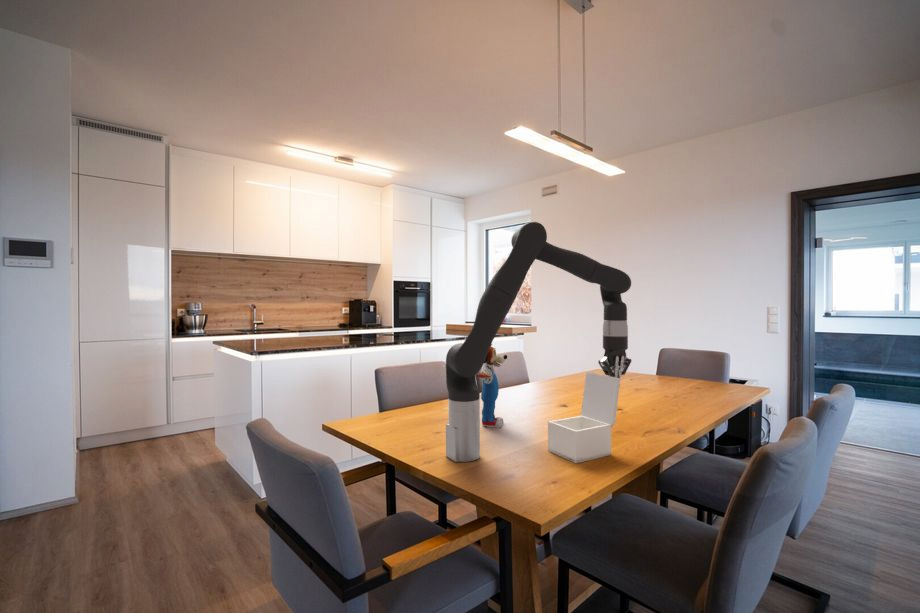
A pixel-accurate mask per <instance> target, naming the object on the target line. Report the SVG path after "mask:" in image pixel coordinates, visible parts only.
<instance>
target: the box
mask: <svg viewBox="0 0 920 613" xmlns="http://www.w3.org/2000/svg"><path fill="white" fill-rule="evenodd" d="M547 451H548V452H550V453H553V454H554V455H557V456H559V457H561V458H563V459H566V460H568V461H569V462H572V463H574V464H579V463H583V462H586V461H587V462H588V461H592V460H596V459H600V458H605V457H607V456H608V457H609V456H611V455H612V425H610V424H607V423H604V422H601V421H598V420H594V419H591V418H588V417H585V416H582V415H578V416H572V417H567V418H560V419H554V420H549V421H547Z"/></svg>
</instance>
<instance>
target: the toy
mask: <svg viewBox="0 0 920 613" xmlns="http://www.w3.org/2000/svg"><path fill="white" fill-rule="evenodd" d="M507 359H508V355H507V354H504V355H501V354H500V355H497V351H496V347H493V344H491V346H490V349H489V351H488V353H487V356H486V359H485V361H484V364H483V366H482V368H481V370H480V371H479V372H478V373H477V374H476V378H477V377H478V378H482V390H481V392H480V394H481V395H480V400H481V402H482V403H483V404H482V409H481V416H482V417H481V425H482V427H484V426H487V427H486V428H495V427H500V428H502V427H503V425H504V424H503V423H504V418H502V417H500V416H498V417H496V415H495V409H496V401H497V399H498V396H499V392H500V391H499V390H500V388H499V382H498V381H499V380H498V377H497V375H496V372H495V369H494V368H495V367H497V368H499V367H501V364H504V363H505V360H507Z"/></svg>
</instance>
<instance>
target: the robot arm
mask: <svg viewBox="0 0 920 613" xmlns="http://www.w3.org/2000/svg"><path fill="white" fill-rule="evenodd" d="M547 240H548V233H547V230H546V228H545V226H544V225H543V224H542V223H540V222H538V221H529V222H526V223H524V224H523V225H521V226H520V227H519V228H518V229H516V231H515V232H514V233H513V234H512V236H511V241H510V242H511V246H512V249H511V251H510V252H509V255H508V256H507V258H506V259H505V261H504V263H503V264H502V265H501V266H500V267H499V268H498V269H497V271H496V273H495V274H494V275H493V277H492V278H491V280H490V281H489V283H488V285H486V288H485V289H484V292H483V294H482V295H481V298H480V299H479V302H478V305H477V310H476V314H475V320H474V322H473V325H472V328H471V330H470V331H469V333H468V335H467V337H465V338H466V339H465V340H464V342H463V343H455V344H454V345H452V346H450V348H449V350H448V351H447V353H446V356H445V357H446V358H445V378H446V379H445V380H446V382H445V383H446V389H447V393H448V397H447V398H448V423H446V424H445V456H446V457H448V458H449V459H450V460H451V461H453V462H455V463H459V462H461V463H465V462H473V461H476V460H478V459H479V458H480V457H481V455H480V454H481V447H480V446H481V445H480V444H481V442H480V441H481V440H480V439H481V435H480V434H481V426H480V424H481V422H480V421H481V418H480V417H481V416H480V415H481V412H480V411H481V409H480V408H481V407H480V404H481V403H480V402H481V401H480V400H481V395H480V394H481V392H480V388H479V386H478V384H477V380H476V378H477V377H476V376H477V374H479V373H480V372H481V370H482V369H483V368H482V367H483V365H484V364H485V363H484V361H485V359H486V356H487V353H488V351H489V349H490V346H491V347H492V345H491V344H492V343H493V341H494V339H495V337H496V335H497V333H498V331H499V330H500V328H501V327H502V324H503V323H504V320H505V318H506V316H507V315H508V314H509V312H510V310H511V308H512V306H513V304H514V302H515V300H516V298H517V297H518V294H519V292H520V289H521V288H522V285H523V284H524V281H525V279H526V276H527V275H528V272H529V270H530V268H532V267H531V266H532V265H533V263H534V262H535V260H538V261H540V262H543V263H545V264H549V265H551V266H553V267H555V268H559V269H561V270H563V271H565V272H567V273H569V274H571V275H573V276H575V277H576V278H579V279H581V280H583V281H585V282H588V283H590V284H596V285H599V291H600V296H601V302H602V304H603V324H602V348H603V350H604V354H603V358H602V359H599V360H598V364H599V366H600V368H601V369H602V371H603V373H604V375H605V376H610V377H616V378H621V377H622V376H624V375H626V373H627V371H628V369H629V367H630V366H631V363H632V362H633V361H632V359H631V358H628V356H627V352H626V351H627V350H629V349H628V348H629V331H628V330H629V328H628V327H629V326H628V308H627V306H628V305H627V304H626V303H625V302H624V301H623V300H622V294H624V293H626V292H628V291H629V290H630V288H631V287H632V280H631V277H630V276H629V275H628V274H627V273H626V272H624V271H623V270H620V269H618V268H615V267H613V266H610V265H607V264H603V263H601V262H599V261H597V260H595V259H593V258H591V257H589V256H587V255H585V254H583V253H581V252H577V251H574V250H570V249H566V248H561V247H559V246H556V245H554V244H552V243H550V242H547Z"/></svg>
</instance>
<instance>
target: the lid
mask: <svg viewBox="0 0 920 613" xmlns="http://www.w3.org/2000/svg"><path fill="white" fill-rule="evenodd" d="M584 379H585V380H584V388H583V394H582V396H583V397H582V401H581V402H582V403H581V404H582V405H581V411H580V416H585V417H588V418H591V419H594V420H598V421H601V422H604V423H607V424H610V425H611V426H616V420H617V419H616V418H617V411H618V401H619V394H620V387H621V377H620V378H616V377H610V376H608V375H605V374H599V373H594V372H585V378H584Z"/></svg>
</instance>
